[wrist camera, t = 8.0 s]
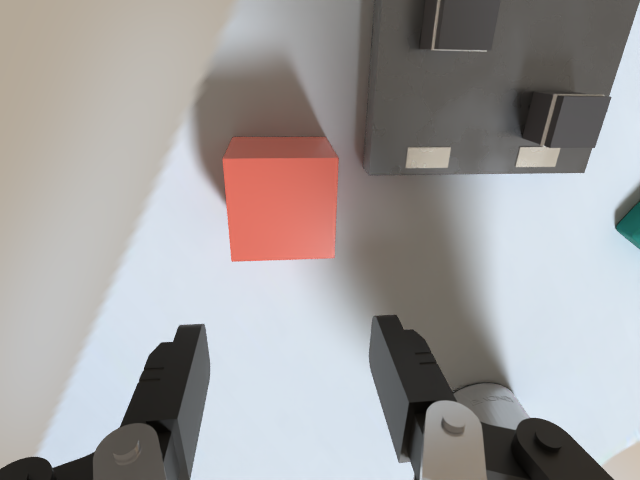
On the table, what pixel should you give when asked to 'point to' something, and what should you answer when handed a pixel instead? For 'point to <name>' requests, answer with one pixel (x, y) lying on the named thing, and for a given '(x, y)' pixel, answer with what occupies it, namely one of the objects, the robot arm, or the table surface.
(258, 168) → the red cube
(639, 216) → the digital multimeter
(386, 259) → the table surface
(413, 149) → the breaker panel
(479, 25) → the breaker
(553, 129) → the breaker
